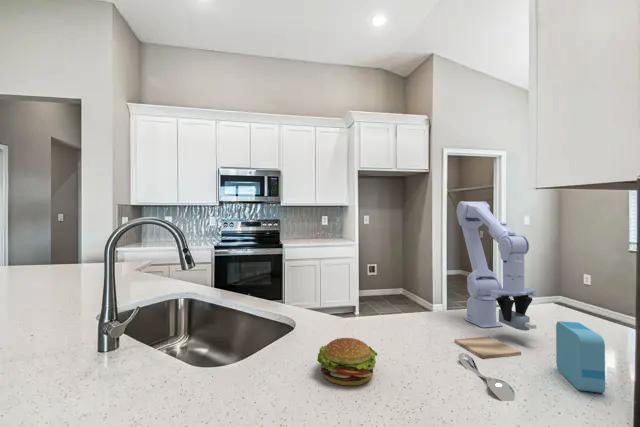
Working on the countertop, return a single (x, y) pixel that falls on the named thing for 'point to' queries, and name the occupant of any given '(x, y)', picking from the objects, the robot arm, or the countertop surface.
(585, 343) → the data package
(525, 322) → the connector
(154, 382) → the countertop surface
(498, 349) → the cork pad
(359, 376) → the food
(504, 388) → the silver spoon
